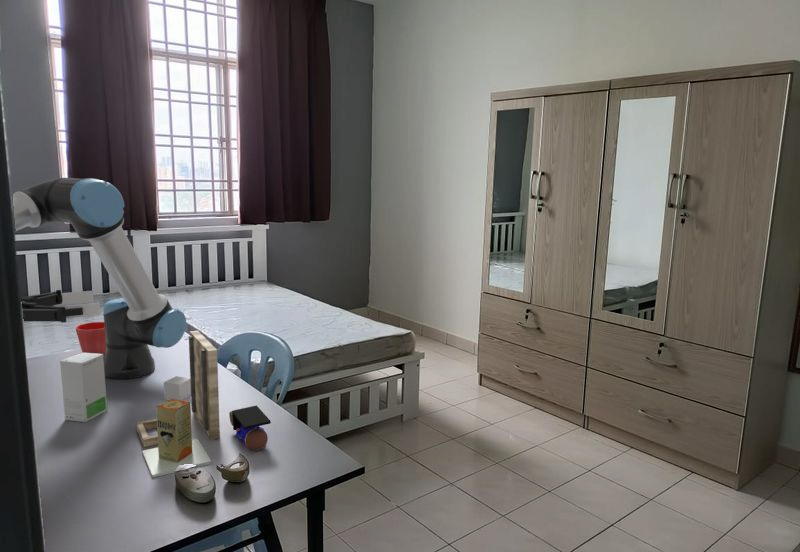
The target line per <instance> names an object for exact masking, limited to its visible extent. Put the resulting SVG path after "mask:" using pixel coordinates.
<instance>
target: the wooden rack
mask: <svg viewBox="0 0 800 552" xmlns="http://www.w3.org/2000/svg"><path fill="white" fill-rule="evenodd" d="M188 351H189V352H188V353H189V378H190V382H191V395H190V405H191V412H192V414H193V415H194V416H195V418H196V419H197V420H198V422H199V423H200V425H201V427H202V428H203V430H204V431H205V433H206V434H207V435H208V437H209V438H210V440H211V441H212V440H218V439H220V438H221V434H220V433H221V432H220V431H221V430H220V427H221V425H220V397H219V367H218V366H219V365H218V362H219V361H218V349H217V348H216V347H215V346H214V345H213V344H212V343H211V342H210V341H209V340H208V339H207V338H206V337H205V336H204V335H203V334H202V333H201V332H200V331H199V330H191V331H189V335H188ZM135 427H136V431H137V433H138V436H139V439H140V442H141V443H142V445H143V448H147V447H151V446H155V445H156V446H158V434H154V435H150V436H149V435H148V433H147V430H151V429H157V418H154V419H148V420H147V419H146V420H144V421H138V422H136V426H135Z"/></svg>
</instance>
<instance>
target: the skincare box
mask: <svg viewBox="0 0 800 552" xmlns="http://www.w3.org/2000/svg"><path fill="white" fill-rule="evenodd" d="M103 359H104V355H103V354H97V353H82V352H81V353H79V354H75V355H72V356H69V357H67V358H64V359H61V360H60V361H59V364H60V375H61V386H62V398H63V399H62V400H63V409H64V410H63V411H64V413H63V414H64V420H65V421H69V420H70V421H71V422H80V423H87V422H89V421H91V420H93V419H94V418H96V417H98V416H100V415H101V414H104V413H105V412H107V411H108V404H107V391H106V390H107V389H106V377H105V374H104V360H103Z"/></svg>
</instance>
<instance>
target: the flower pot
mask: <svg viewBox="0 0 800 552" xmlns="http://www.w3.org/2000/svg"><path fill="white" fill-rule="evenodd" d="M75 332H76V335H77V339H78V342H79V346H80V349H81V353H97V354H103V356H104V355H105V352H106V338H105V326H104V321H93V322H87V323H80V324H79V325H77V326H75Z"/></svg>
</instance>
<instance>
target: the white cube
mask: <svg viewBox="0 0 800 552" xmlns="http://www.w3.org/2000/svg"><path fill="white" fill-rule="evenodd" d="M163 392H164V400H167V401H169V400H171V399H176V400H181V401H184V400H185V399H187V398H188V397H191V382H190V377H182V376H177V375H175V376H173V377H171V378H169V379H167V380H165V381H164V382H163Z"/></svg>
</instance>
